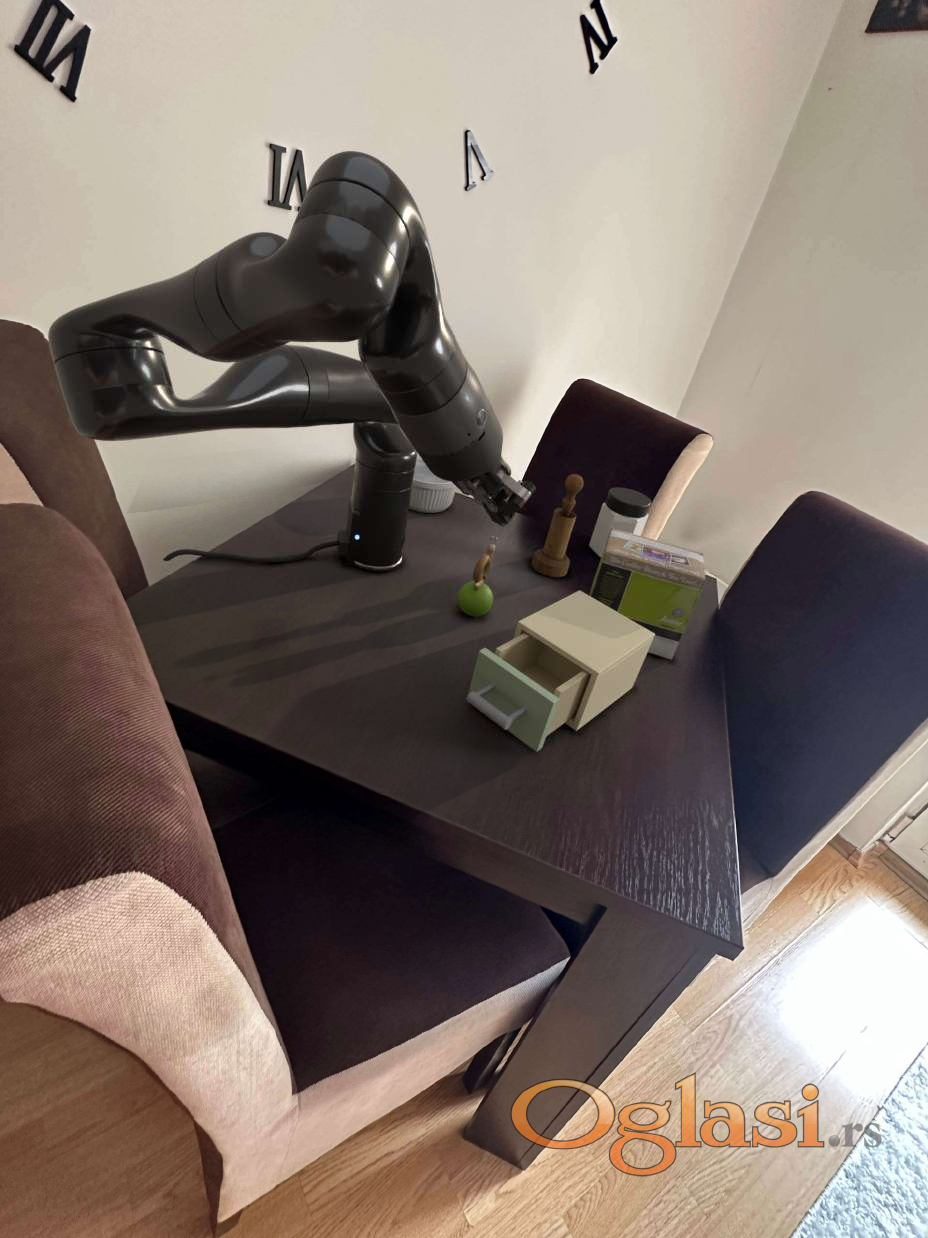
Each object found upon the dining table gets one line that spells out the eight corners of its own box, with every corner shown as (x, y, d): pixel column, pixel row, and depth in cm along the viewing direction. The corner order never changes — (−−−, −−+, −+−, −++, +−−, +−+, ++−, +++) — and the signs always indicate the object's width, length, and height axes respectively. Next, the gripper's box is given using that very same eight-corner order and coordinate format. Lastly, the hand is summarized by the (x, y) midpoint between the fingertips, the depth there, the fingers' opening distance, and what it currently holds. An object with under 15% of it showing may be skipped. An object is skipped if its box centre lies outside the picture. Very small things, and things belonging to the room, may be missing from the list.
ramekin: (382, 506, 127) (386, 472, 123) (398, 482, 138) (403, 451, 134) (447, 522, 126) (454, 489, 122) (459, 497, 137) (465, 466, 133)
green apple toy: (495, 607, 104) (512, 541, 97) (483, 627, 98) (500, 558, 92) (463, 596, 104) (478, 530, 98) (449, 615, 99) (464, 546, 93)
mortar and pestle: (566, 563, 121) (594, 473, 111) (567, 580, 116) (597, 487, 106) (531, 556, 121) (557, 464, 111) (531, 572, 115) (557, 478, 106)
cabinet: (576, 731, 83) (598, 673, 78) (501, 678, 89) (518, 621, 84) (632, 687, 93) (655, 633, 87) (561, 643, 99) (579, 590, 94)
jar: (603, 537, 134) (622, 483, 128) (638, 554, 130) (659, 499, 124) (581, 548, 128) (600, 492, 121) (617, 566, 124) (638, 509, 118)
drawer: (514, 769, 74) (530, 718, 70) (443, 713, 80) (454, 663, 75) (596, 706, 86) (614, 660, 82) (529, 662, 92) (543, 616, 87)
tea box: (672, 629, 108) (706, 552, 100) (671, 662, 100) (708, 580, 92) (584, 602, 110) (611, 524, 102) (576, 632, 102) (605, 549, 94)
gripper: (367, 422, 58) (439, 519, 73) (476, 480, 51) (531, 573, 66) (419, 358, 58) (480, 467, 73) (533, 407, 52) (574, 515, 67)
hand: (504, 517), depth 70 cm, fingers closed
